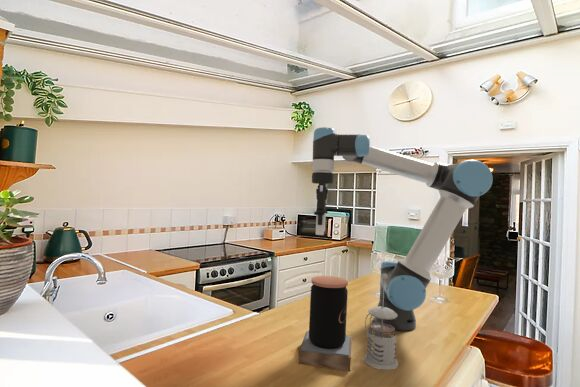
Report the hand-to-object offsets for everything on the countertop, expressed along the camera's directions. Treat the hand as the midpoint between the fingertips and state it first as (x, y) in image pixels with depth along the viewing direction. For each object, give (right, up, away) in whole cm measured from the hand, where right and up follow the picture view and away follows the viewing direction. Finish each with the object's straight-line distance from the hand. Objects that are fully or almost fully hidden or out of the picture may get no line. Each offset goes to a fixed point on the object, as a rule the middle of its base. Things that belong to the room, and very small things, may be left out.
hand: (320, 232), depth 119 cm
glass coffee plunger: (+15, -34, -21) cm, 43 cm away
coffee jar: (0, -30, -20) cm, 36 cm away
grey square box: (0, -33, -20) cm, 39 cm away
